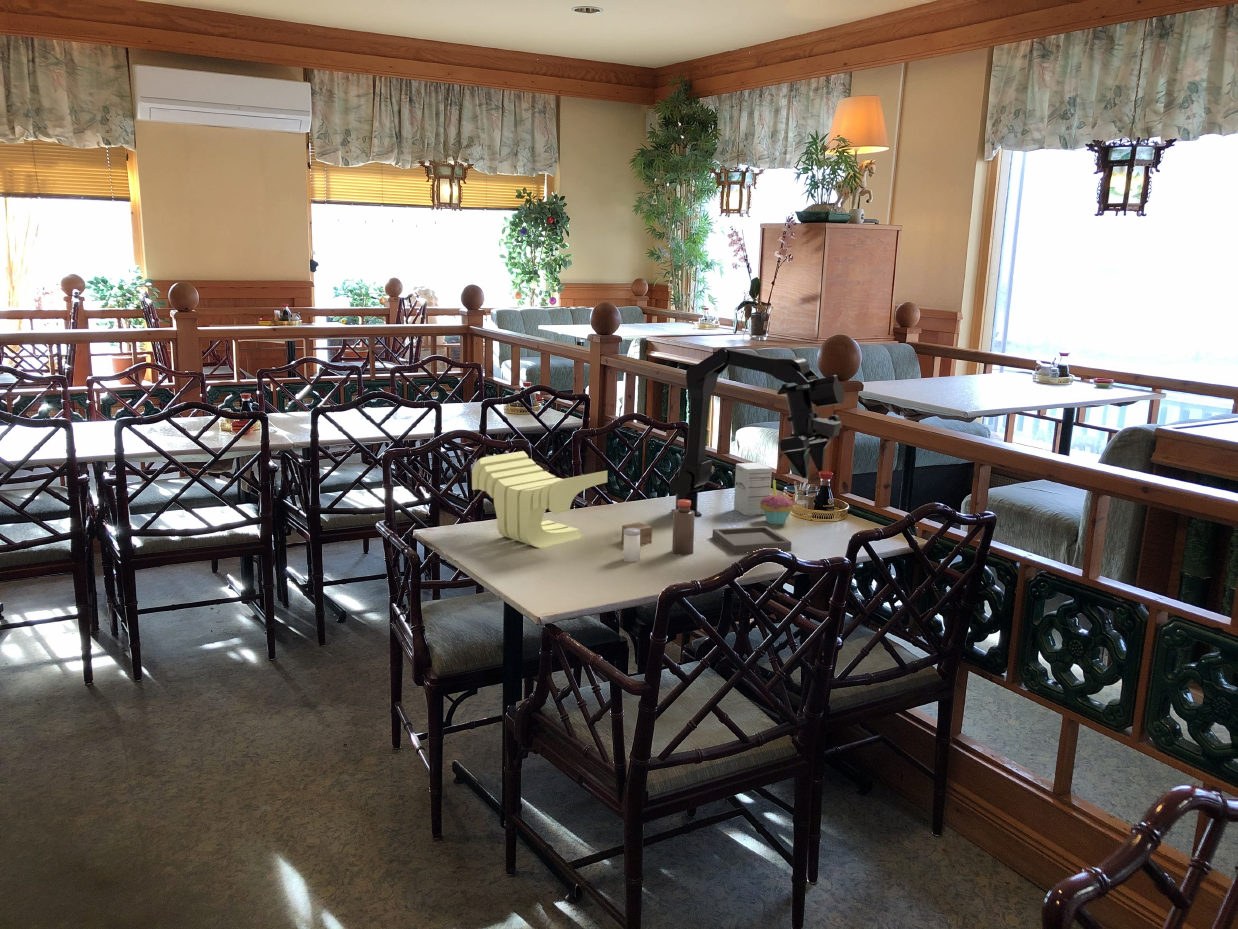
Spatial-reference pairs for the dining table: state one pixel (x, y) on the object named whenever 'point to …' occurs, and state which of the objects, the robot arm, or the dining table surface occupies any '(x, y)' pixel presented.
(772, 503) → the cupcake
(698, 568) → the dining table surface
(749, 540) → the tray
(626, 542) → the salt shaker
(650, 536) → the walnut block
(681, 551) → the soy bottle
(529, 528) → the slatted curved stool
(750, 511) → the supplement box
